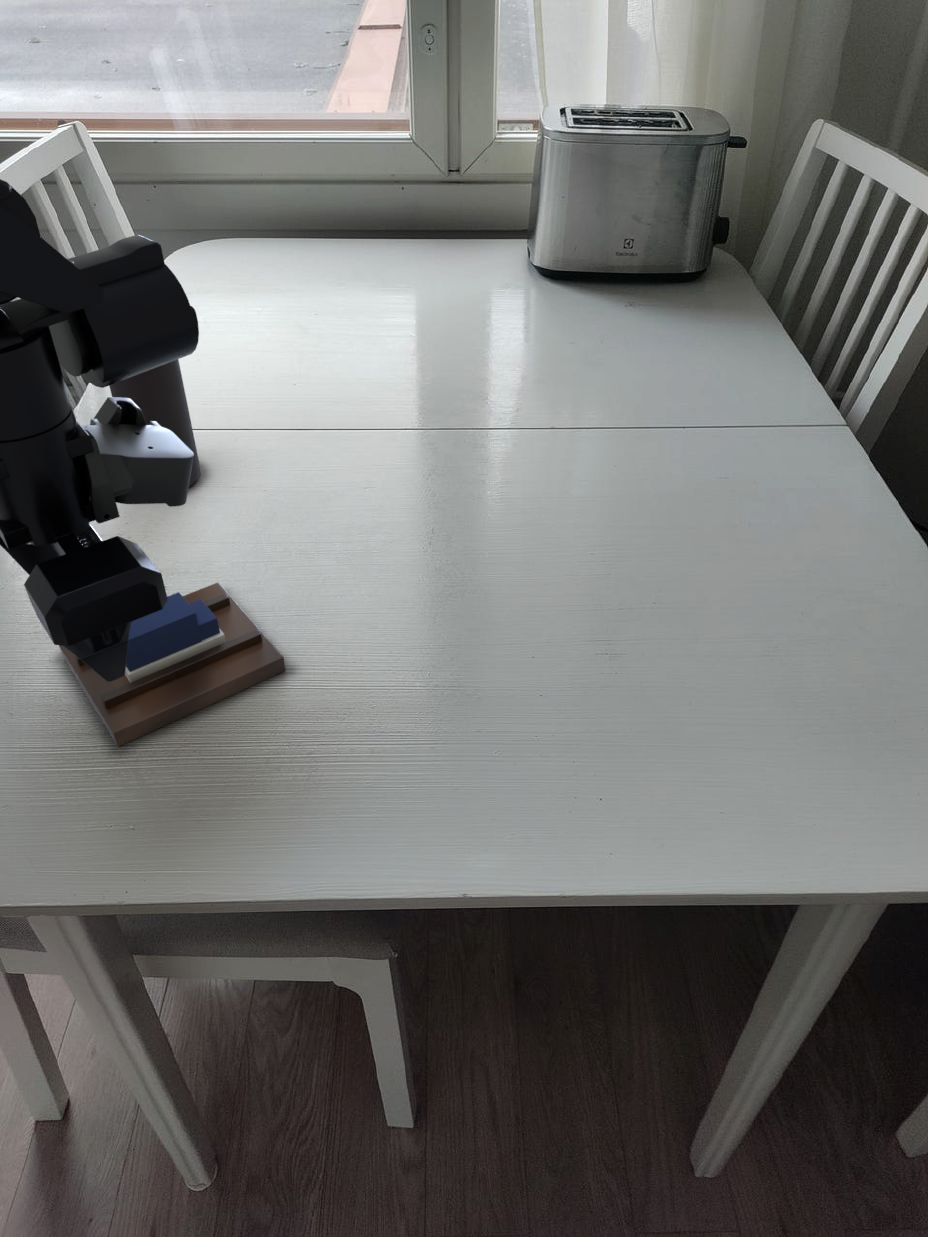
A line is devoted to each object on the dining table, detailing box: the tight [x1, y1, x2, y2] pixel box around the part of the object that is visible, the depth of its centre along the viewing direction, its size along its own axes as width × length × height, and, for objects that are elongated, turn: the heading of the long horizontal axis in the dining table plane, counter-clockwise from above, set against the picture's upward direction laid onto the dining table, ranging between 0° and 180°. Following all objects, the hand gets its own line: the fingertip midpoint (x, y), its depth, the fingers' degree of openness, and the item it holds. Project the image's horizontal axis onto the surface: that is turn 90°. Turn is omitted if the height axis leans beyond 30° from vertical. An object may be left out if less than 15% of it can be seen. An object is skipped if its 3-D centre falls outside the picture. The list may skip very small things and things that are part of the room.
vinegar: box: [108, 359, 201, 487], centre depth 93 cm, size 7×7×20 cm
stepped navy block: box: [125, 591, 226, 683], centre depth 75 cm, size 8×4×4 cm, turn 127°
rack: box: [58, 581, 287, 747], centre depth 77 cm, size 14×12×2 cm
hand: (88, 637), depth 61 cm, fingers open, 9 cm apart
